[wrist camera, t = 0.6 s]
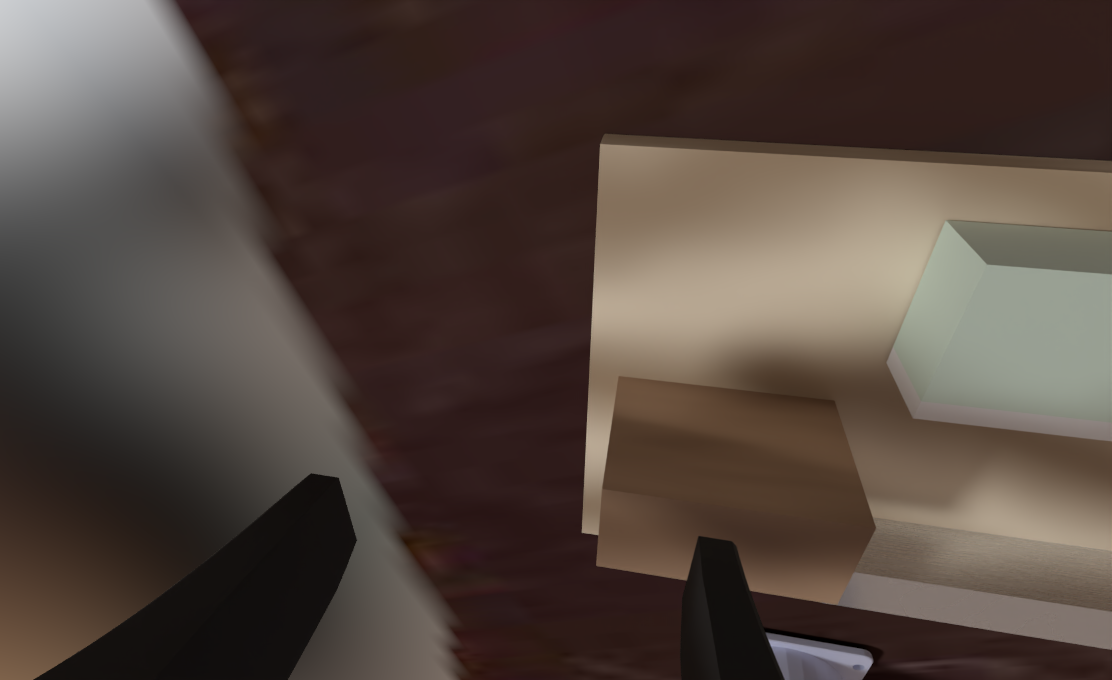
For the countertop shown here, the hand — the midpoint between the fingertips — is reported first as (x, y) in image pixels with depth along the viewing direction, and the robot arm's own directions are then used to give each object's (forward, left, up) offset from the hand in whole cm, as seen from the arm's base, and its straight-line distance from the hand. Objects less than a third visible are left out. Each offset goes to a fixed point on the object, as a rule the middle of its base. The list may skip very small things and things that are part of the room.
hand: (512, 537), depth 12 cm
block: (-4, -5, -9) cm, 11 cm away
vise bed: (-3, -11, -10) cm, 15 cm away
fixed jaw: (-9, -15, -9) cm, 19 cm away
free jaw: (+2, -14, -9) cm, 17 cm away
